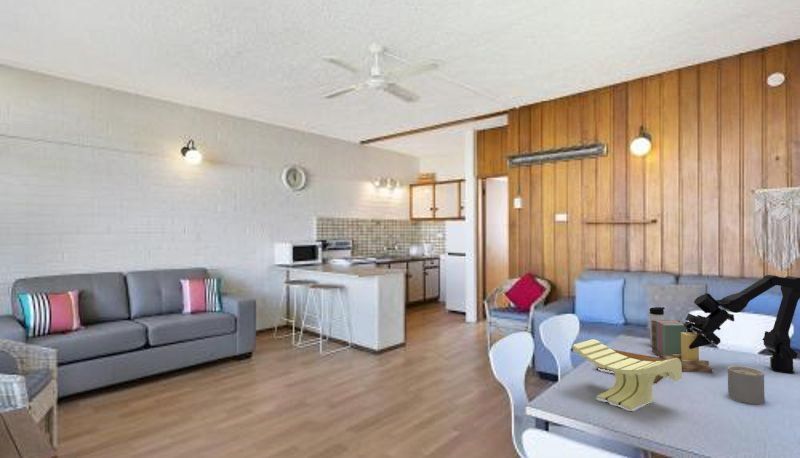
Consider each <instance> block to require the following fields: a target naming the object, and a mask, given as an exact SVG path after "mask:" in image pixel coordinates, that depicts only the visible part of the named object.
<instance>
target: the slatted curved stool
mask: <svg viewBox="0 0 800 458" xmlns="http://www.w3.org/2000/svg"><path fill="white" fill-rule="evenodd" d="M614 350H615V349H612V348H610V347H609V346H607V345H605V344H603V343H602V341H599V340H598V339H594V338H592V339H589V340H586V341H580V342H578V343H575V344H573V345H572V353H575V354H579V357H581V358H586V361H587V362H589V363H593V366H594V367H597V368H598V367H601V368H607V369H608V370H612V371H613V372H614V374H613V375H614V376H615V383H614V385H613V386H612V387H611V388H609V389H608V390H606V391H604V392H601V393H600V394H597V396H596V398H600V399H603V400H607V401H608V402H611V403H613V404H616V405H621V406H622V407H624V408H627V409H629V410H632V409H634V408H636V407H638V406H641V405H643V404H646V403H648V402H651V401H652V402H653V385H654V383H653V382H654V379H655V377H656V376H657V375H660V376H663V378H669V379H670V380H672V381H675V382H677V381H679V380H681V379H683V375H682V374H683V372H682V365H681V361H680V359H679V358H673V359H671V360H664V361H656V362H653V361H641V360H637V359H633V358H628V357H627V356H624V355H621V354H619V353H616V351H614Z"/></svg>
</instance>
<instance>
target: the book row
mask: <svg viewBox="0 0 800 458" xmlns="http://www.w3.org/2000/svg"><path fill="white" fill-rule="evenodd" d="M683 324H684V323H682V322H681V321H680V322H678V321H656V341H657V350H658V351H659V352H661V353H662V354H664V355H665V356H672V354H681V332H687V329H686V327H685V326H684V325H683Z"/></svg>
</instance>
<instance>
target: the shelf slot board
mask: <svg viewBox="0 0 800 458" xmlns="http://www.w3.org/2000/svg"><path fill="white" fill-rule="evenodd" d="M656 321H678V322H680V323H681V321H680V320H678V319H677V320H676V319H675V320H673V319H672V320H671V319H664V320H651V328H652V347H651V353H653V354H654V355H656V356H657V357H658V356H659V357H658V358H663V359H668V360H671V359H673V358H679V359H680V361H681V365H682V373H711V374H712V373H713V368H711V367H710V361H709V360H702V359H701V360H700V359H699V360H682V358H681V354H672V356H665V355H664V354H662V353H661V352H659V351H658V350H657V341H656Z"/></svg>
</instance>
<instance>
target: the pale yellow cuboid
mask: <svg viewBox="0 0 800 458" xmlns="http://www.w3.org/2000/svg"><path fill="white" fill-rule="evenodd" d="M696 337H697V335H696V334H694V333H692V332H687V331H686V332H681V358H682V360H700V354H699V353H700V348H699V347H696V348H693V349H690V348H689V346H690V344H691V343H692V342H693V341H694V340H695V339H696Z"/></svg>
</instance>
